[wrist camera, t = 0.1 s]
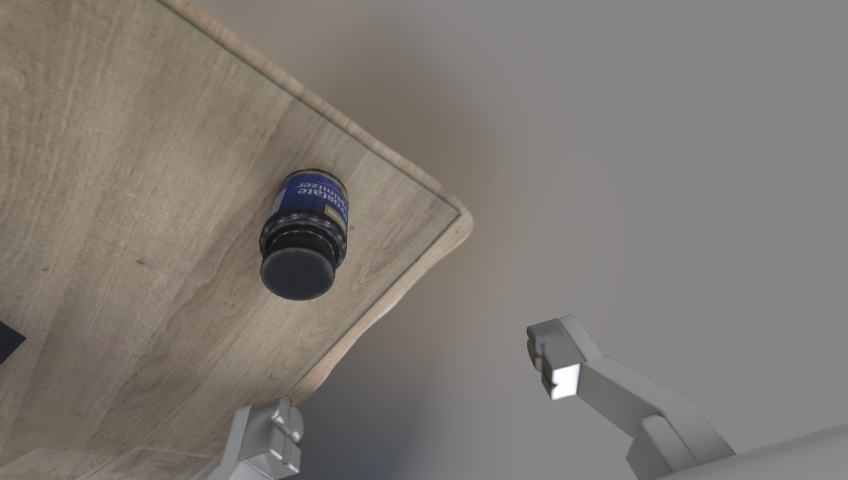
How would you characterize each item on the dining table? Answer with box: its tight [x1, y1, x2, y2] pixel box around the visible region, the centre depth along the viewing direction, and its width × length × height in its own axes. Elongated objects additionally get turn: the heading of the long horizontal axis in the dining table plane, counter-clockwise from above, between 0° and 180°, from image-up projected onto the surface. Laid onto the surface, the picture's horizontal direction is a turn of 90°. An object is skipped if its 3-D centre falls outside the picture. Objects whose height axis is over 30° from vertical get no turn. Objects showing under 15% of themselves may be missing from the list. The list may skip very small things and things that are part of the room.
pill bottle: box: [259, 169, 349, 301], centre depth 26 cm, size 6×6×11 cm
